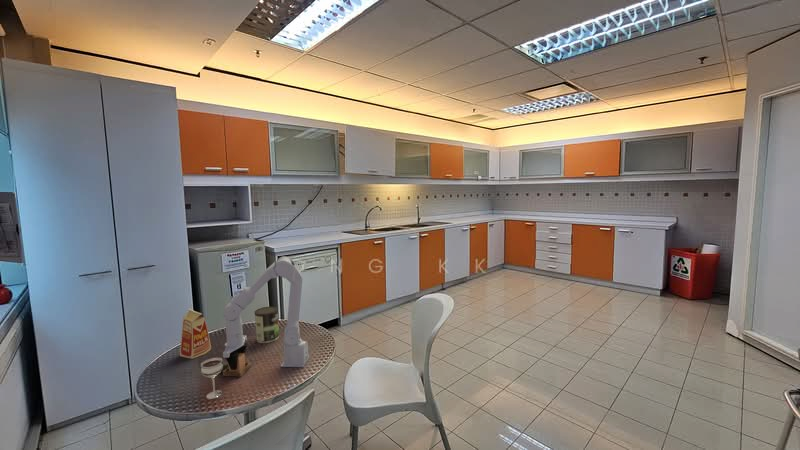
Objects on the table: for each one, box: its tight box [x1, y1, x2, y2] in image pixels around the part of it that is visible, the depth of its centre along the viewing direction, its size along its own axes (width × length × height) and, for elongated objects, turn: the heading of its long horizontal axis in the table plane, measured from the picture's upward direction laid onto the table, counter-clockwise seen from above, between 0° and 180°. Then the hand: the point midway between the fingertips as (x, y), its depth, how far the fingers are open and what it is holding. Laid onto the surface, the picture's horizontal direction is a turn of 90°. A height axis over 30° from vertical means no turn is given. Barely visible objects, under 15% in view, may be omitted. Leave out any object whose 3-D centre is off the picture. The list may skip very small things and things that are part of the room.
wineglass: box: [200, 357, 224, 400], centre depth 118 cm, size 7×7×12 cm
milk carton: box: [179, 308, 212, 359], centre depth 148 cm, size 9×9×20 cm
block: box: [228, 352, 246, 372], centre depth 133 cm, size 4×4×6 cm
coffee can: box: [254, 306, 280, 344], centre depth 161 cm, size 10×10×14 cm
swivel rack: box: [220, 361, 252, 377], centre depth 133 cm, size 7×15×3 cm, turn 85°
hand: (237, 365), depth 133 cm, fingers closed on block, 4 cm apart
